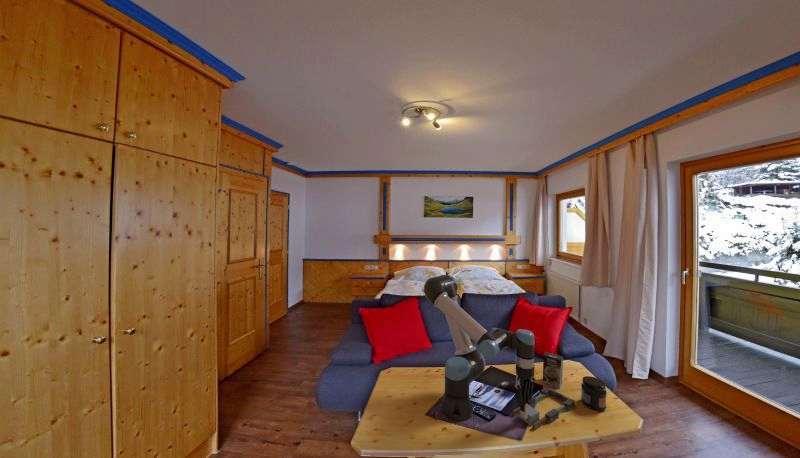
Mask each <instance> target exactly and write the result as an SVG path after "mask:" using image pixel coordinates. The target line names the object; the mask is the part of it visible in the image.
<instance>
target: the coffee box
mask: <svg viewBox="0 0 800 458" xmlns="http://www.w3.org/2000/svg"><path fill="white" fill-rule="evenodd" d="M542 360H543V361H542V362H543V363H542V364H543V365H542V383H543V384H546V385H548V386H551V387H554V388H556V389H559V390H561V388H562V386H563V376H564V375H563V371H564V369H563V368H564V356H562V355H559V354H556V353H552V352H548V351H545V352H544V354H543V359H542Z"/></svg>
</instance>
